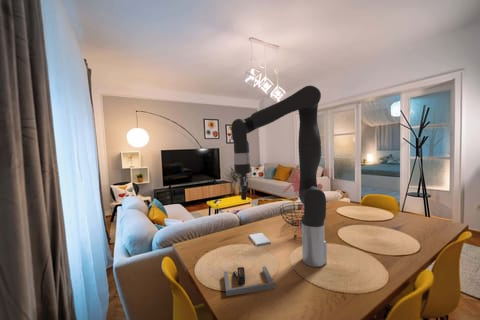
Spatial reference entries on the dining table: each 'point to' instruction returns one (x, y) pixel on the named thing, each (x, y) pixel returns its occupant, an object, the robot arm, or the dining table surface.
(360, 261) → the dining table surface
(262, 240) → the hard drive
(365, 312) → the dining table surface
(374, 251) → the dining table surface
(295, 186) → the figurine
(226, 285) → the slot rails
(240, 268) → the wireless earbuds
